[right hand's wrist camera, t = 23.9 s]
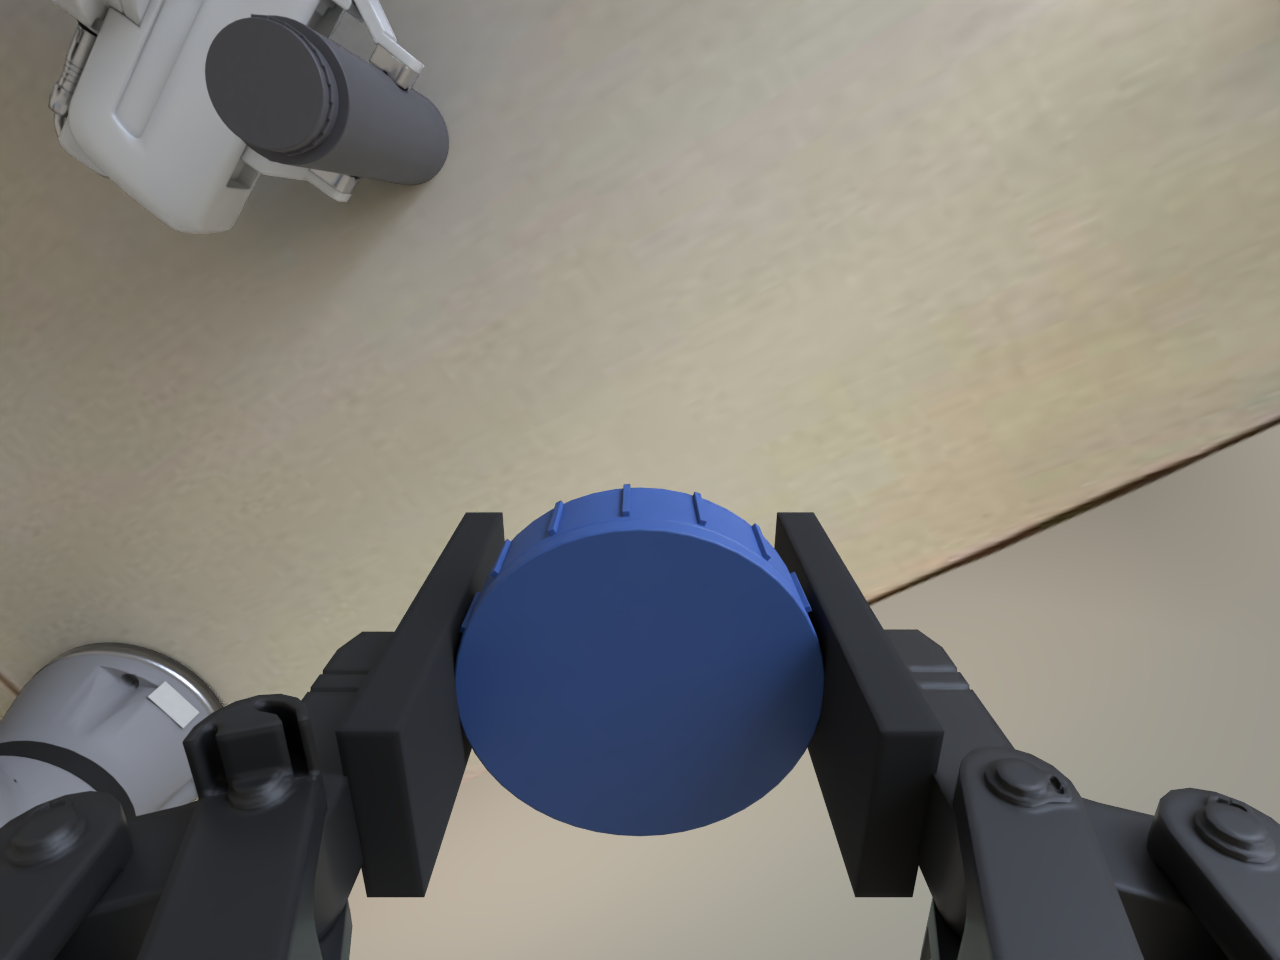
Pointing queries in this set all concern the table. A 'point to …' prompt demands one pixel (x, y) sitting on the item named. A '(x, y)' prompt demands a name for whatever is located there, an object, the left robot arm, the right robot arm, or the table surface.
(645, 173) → the table surface
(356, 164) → the dark grey bottle
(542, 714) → the lid
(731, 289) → the table surface
